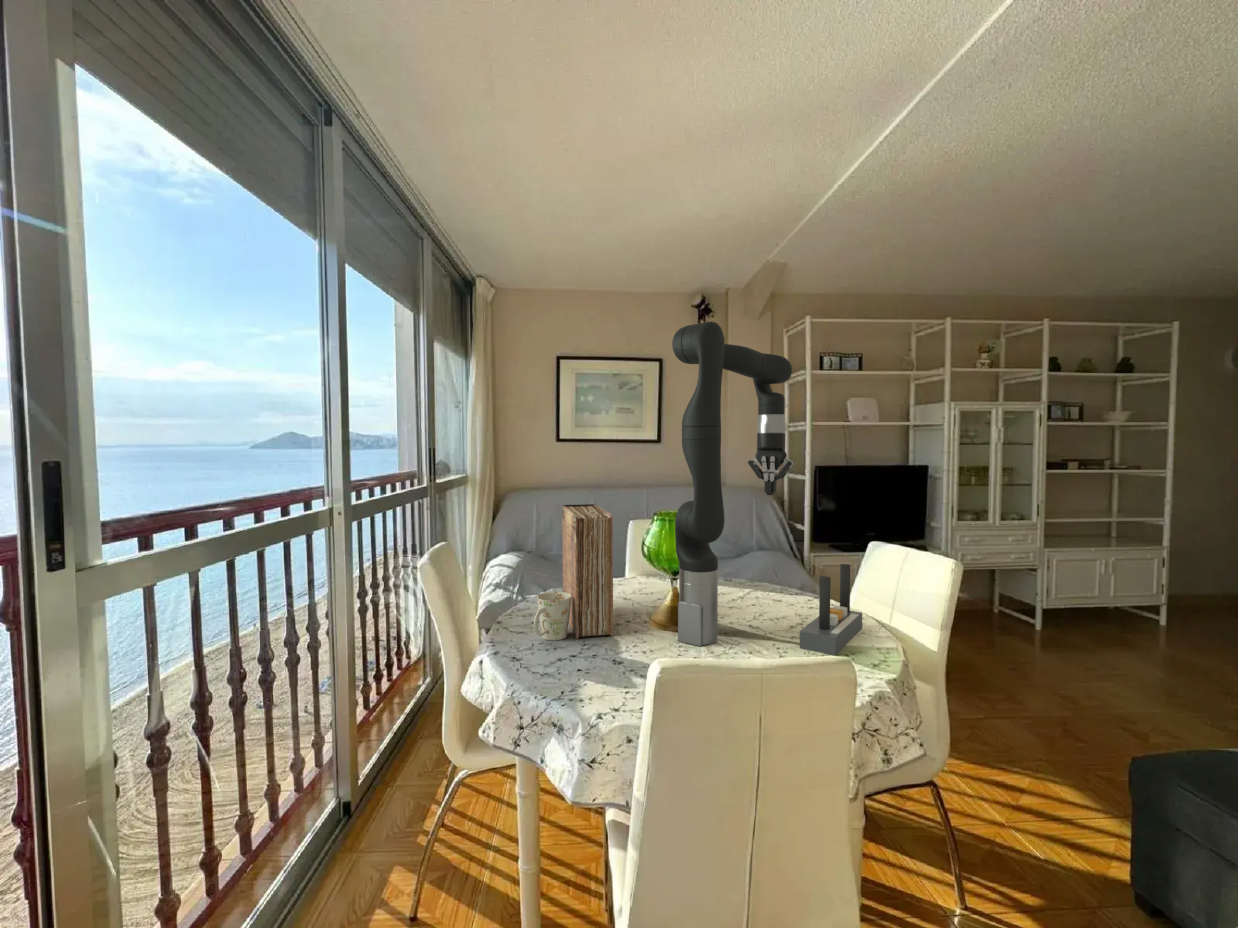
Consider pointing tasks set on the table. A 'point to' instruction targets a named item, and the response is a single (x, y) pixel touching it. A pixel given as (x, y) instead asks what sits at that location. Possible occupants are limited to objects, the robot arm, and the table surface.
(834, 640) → the switch panel
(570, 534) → the book
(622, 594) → the table surface
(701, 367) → the robot arm
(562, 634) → the mug
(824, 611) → the post
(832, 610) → the orange paddle
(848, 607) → the post
